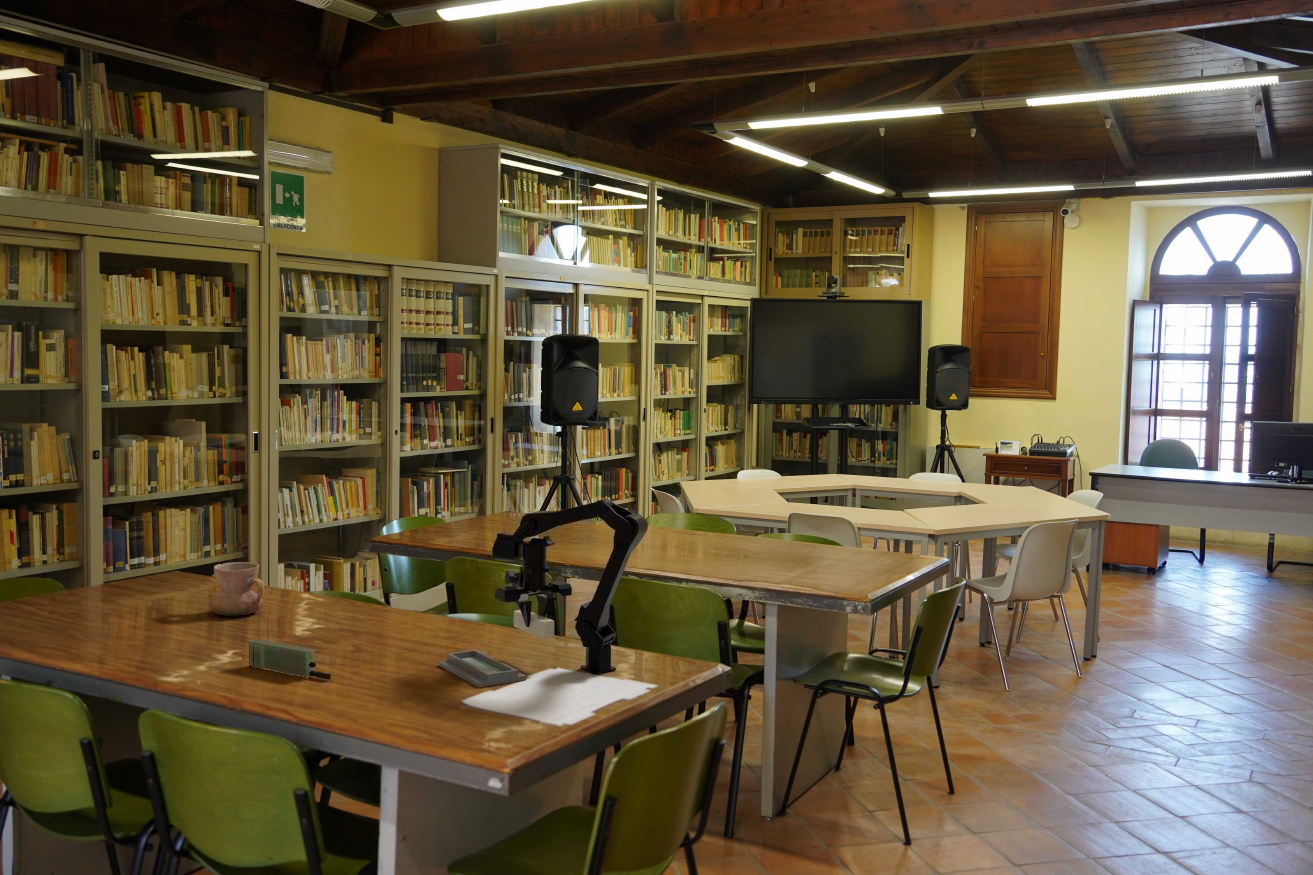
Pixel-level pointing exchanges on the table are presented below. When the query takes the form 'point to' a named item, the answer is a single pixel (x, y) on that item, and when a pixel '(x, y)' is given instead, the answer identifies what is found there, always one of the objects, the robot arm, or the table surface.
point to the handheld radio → (283, 658)
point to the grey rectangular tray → (480, 669)
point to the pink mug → (237, 589)
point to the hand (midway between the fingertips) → (533, 626)
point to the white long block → (535, 625)
